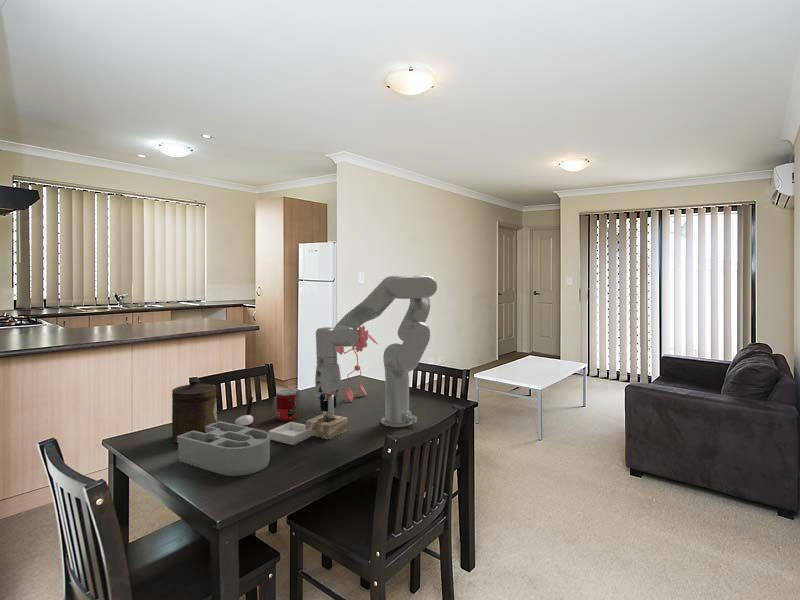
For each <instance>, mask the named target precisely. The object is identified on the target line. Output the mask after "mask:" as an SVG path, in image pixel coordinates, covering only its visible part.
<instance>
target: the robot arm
mask: <svg viewBox="0 0 800 600" xmlns="http://www.w3.org/2000/svg"><path fill="white" fill-rule="evenodd" d="M437 290H438V283H437V281H436V279H435V278H433V277H432V276H430V275H421V274H419V275H412V276H398V275H396V276H395V275H391V276H386V277H385V278H384V279H382V281H381V282H379V284H378V285H377V286H376V287H375V288H374V289H373V290H372V291H371V292H370V293H369V295H368V296H367V297H365V298H364V300H362V301H361V302H360V303H359V304H357V305H356V306H354V308H352V309H351V310H350V311H348V312H347V313H346V314H345V315H344V316H343V317H342V318H341V319H340V320H339V321H338V322H337V323H336V324H335V326H334V327H331V326H330V327H329V326H328V327H327V326H326V327H325V326H324V327H318V328H317V329H316V331H315V349H316V350H315V351H316V355H315V356H316V367H315V375H314V376H315V379H314V385H315V392H314V396H315V397H317V399H318V400H319V402H320V411H321V412H323V411H325V412H327V411H328V401H327V393H330V392H332V391H335V393H334V394H333V395H334V409H336V408H337V397H338V392H339V390H340V389H341V387H342V378H341V370H340V369H341V368H340V365H339V362H338V352H337V346H341V347H344V348H346V347H347V348H350V347H352V346H353V345H355V344H356V343H357V341H358V339H359V335H358V332H357V331H356V330H357V329H358V330H359V327H360V326H361V327H362V326H363V325H364V324H365V323H367V322H369V321H373V320H375V319H377V318H378V317H380V316H381V315H382V314H383V313H384V312H385V310H387V308H388V307H390V305H391V304H392V303H393V302H394V301H395V300H396V299H399V300H401V299H402V300H406V299H407V300H409V305H408V308H407V310H406V313H405V315H404V317H403V319H402V321H401V323H400V325H399V327H398V329H397V336H398V338H399V339H400V340H401V341H402V343H391V344H389V345H388V346H387V347H385V349H384V351H383V358H382V359H383V368H384V378H385V379H384V382H385V383H384V385H385V386H384V400H385V401H384V403H385V404H384V408H385V409H384V415H385V416H383V417H382V418H381V421H380V423H381V424H382V425H383V426H386V427H389V426H390V427H389V428H404V427H409V426H411V425H413V423H417V422H418V416H417V415H412V411H411V410H410V374H409V373H410V372H412V371H413V370H415V369H416V368H417V366H418V365H419V363H420V361H421V359H422V358H423V355H424V353H425V352H426V349H427V346H428V345H429V342H430V339H431V330H430V327H429V326H428V325H427V324H426V321H427V319H428V316H429V315H430V311H431V300H430V297H433V296H434V295H435V294H436V292H437ZM322 394H324V396H323V395H322Z"/></svg>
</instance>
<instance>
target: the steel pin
mask: <svg viewBox="0 0 800 600" xmlns="http://www.w3.org/2000/svg"><path fill="white" fill-rule="evenodd" d="M334 393H335V391H332V392H330V393H327V401H328V411H327V412H325V411H322V412H323V413H322V414H323V421H324V422H327V423H329V422H331V421H333V420H334V415H335V408H334V395H333V394H334ZM322 395H323V396H324V394H322Z"/></svg>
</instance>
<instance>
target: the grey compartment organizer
mask: <svg viewBox="0 0 800 600" xmlns="http://www.w3.org/2000/svg"><path fill="white" fill-rule="evenodd" d="M205 432H206V433H202V432H198V431H190V432H188V433H185V434H182V435H179V436H177V442H178V444H177V446H178V448H177V449H178V450H177V452H178V454H177V455H178V461H179V462H180V463H181V462H184V463H183V464H185V463H187V464H186V465H188V464H190V465H189V466H192V465H193V467H195V466H196V468H198V467H199V469H201V470H202V469H203V470H205V471H206V470H207V471H209V472H213V473H215V474H219V475H223V476H229V477H230V476H231V477H239V476H247V475H252V474H254V473H257V472H260V471H262V470H263V469H265V468H266V467H267V466H268V465H269V463H270V460H271V459H270V458H271V449H270V448H271V445H270V444H271V439H270V434H269V431H266V430H263V429H259V428H253V427H252V428H249V427H244V426H240V425H235V423H230V422H225V421H221V420H220V421H219V420H217V422H216V423H213V424H210V425H207V426H205Z"/></svg>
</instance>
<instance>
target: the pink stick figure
mask: <svg viewBox="0 0 800 600" xmlns="http://www.w3.org/2000/svg"><path fill="white" fill-rule="evenodd" d="M356 331H357V332H358V335H359V339H358V341H357V343H356V344H355V345H353V346H351V347H352V348H350V349H348V350H347V351H345V347H341V346H337V354H339V355H343V354H344V355H345V354H347V353H349V352H351V351H354V354H355V356H356V362H357V363H356V365H354V367H353V368H354V370H352V371H351V372H349V373H348V374H347V378H349V375H351V374H352V373H354V372H355V371H356V372H358V371H359V376H360V379H362V372H361V367H360V365H359V356H358V353H359V352H363V350H364V348H367V347H368V340H369V339H370V340H371V341H372V342H373V344H376V345H378V342H377V341H376V339H374V337H373V336H372V335H370V334H369V330H366V327H365V325H361V326H360V327H359V328H358V329H357V330H356ZM347 386H348V387H346V389H345V396H344V397H343V400H344V399H345V400H346V398H347V399H348V400H349V402H350V403H352V401H353V399H354V392H353V390H352V389H351V388H350V383H349V379H347ZM360 390H361V391H362V392H363V394H364V395H365V396H366V395H367V396H368V394H367V392H366V389H365V388H364V386H363V385H362V383H359V387H358V389H357V391H356V394H355V396H358V395H359V391H360Z"/></svg>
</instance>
